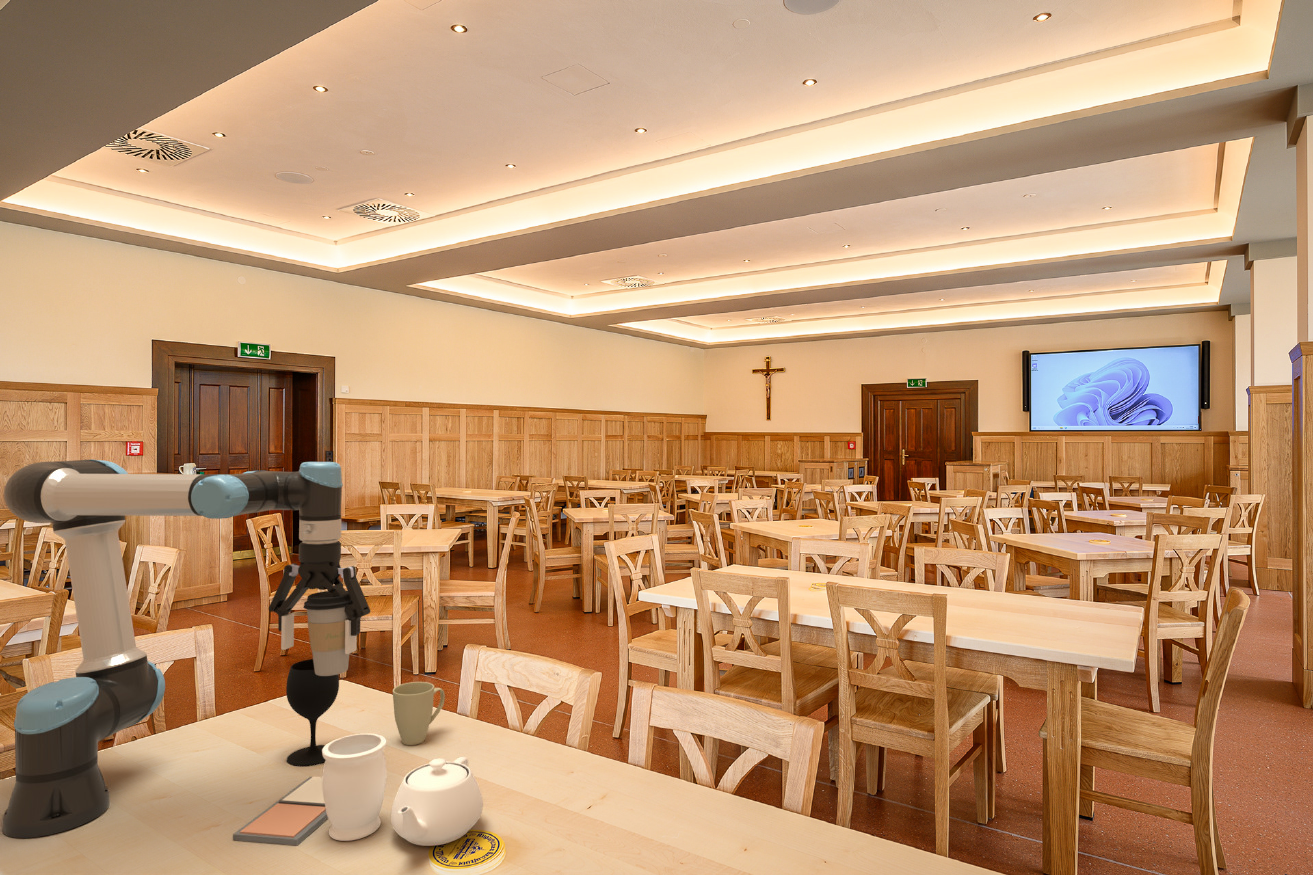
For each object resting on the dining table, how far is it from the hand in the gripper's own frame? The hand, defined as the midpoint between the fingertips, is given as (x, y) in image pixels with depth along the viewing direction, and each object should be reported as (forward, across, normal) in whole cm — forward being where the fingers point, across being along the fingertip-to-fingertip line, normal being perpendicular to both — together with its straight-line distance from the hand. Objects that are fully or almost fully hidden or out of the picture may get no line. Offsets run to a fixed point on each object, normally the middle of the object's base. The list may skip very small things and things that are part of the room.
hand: (318, 650), depth 146 cm
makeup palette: (+28, +2, -7) cm, 29 cm away
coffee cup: (+4, +3, 0) cm, 5 cm away
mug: (+28, +7, +27) cm, 39 cm away
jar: (+28, +15, -12) cm, 34 cm away
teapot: (+27, +30, -10) cm, 42 cm away
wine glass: (+28, -10, +14) cm, 33 cm away
